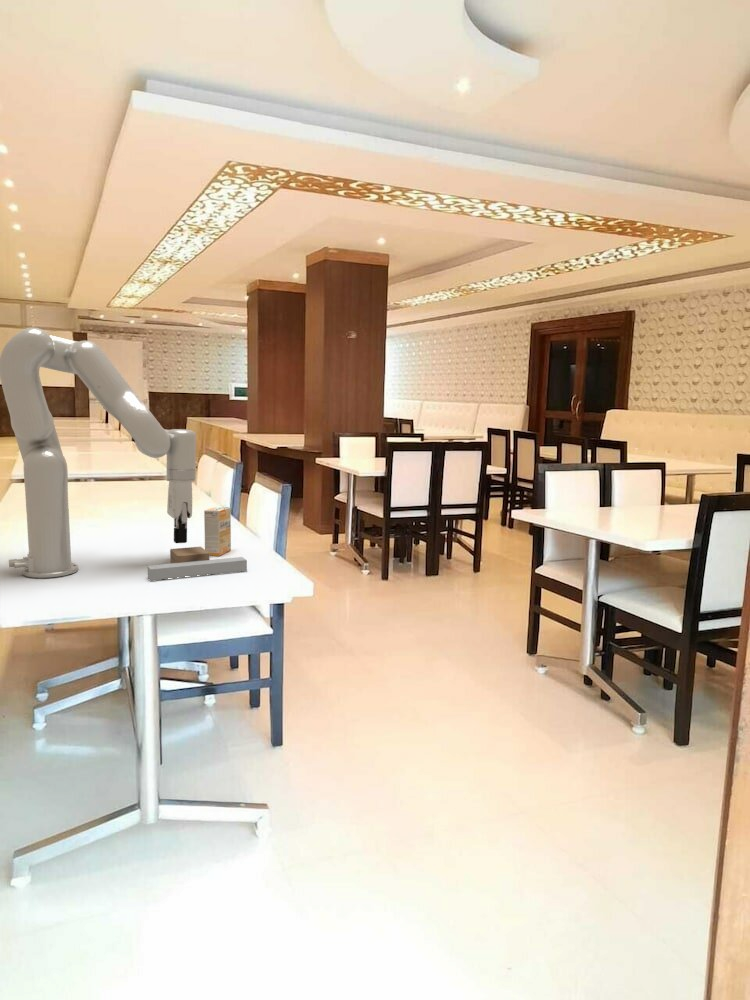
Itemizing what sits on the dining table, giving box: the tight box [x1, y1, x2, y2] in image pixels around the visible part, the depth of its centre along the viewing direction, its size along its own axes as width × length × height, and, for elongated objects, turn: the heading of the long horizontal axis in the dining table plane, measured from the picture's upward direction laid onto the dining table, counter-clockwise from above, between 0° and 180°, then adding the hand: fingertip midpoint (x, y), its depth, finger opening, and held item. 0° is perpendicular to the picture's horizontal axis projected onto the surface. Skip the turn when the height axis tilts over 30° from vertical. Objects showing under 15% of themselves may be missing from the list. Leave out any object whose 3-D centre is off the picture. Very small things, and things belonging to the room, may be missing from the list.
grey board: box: [147, 556, 248, 582], centre depth 173 cm, size 24×4×3 cm, turn 118°
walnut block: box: [169, 546, 210, 564], centre depth 179 cm, size 8×9×5 cm
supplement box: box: [203, 506, 232, 557], centre depth 197 cm, size 8×5×13 cm, turn 168°
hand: (180, 542), depth 187 cm, fingers closed
